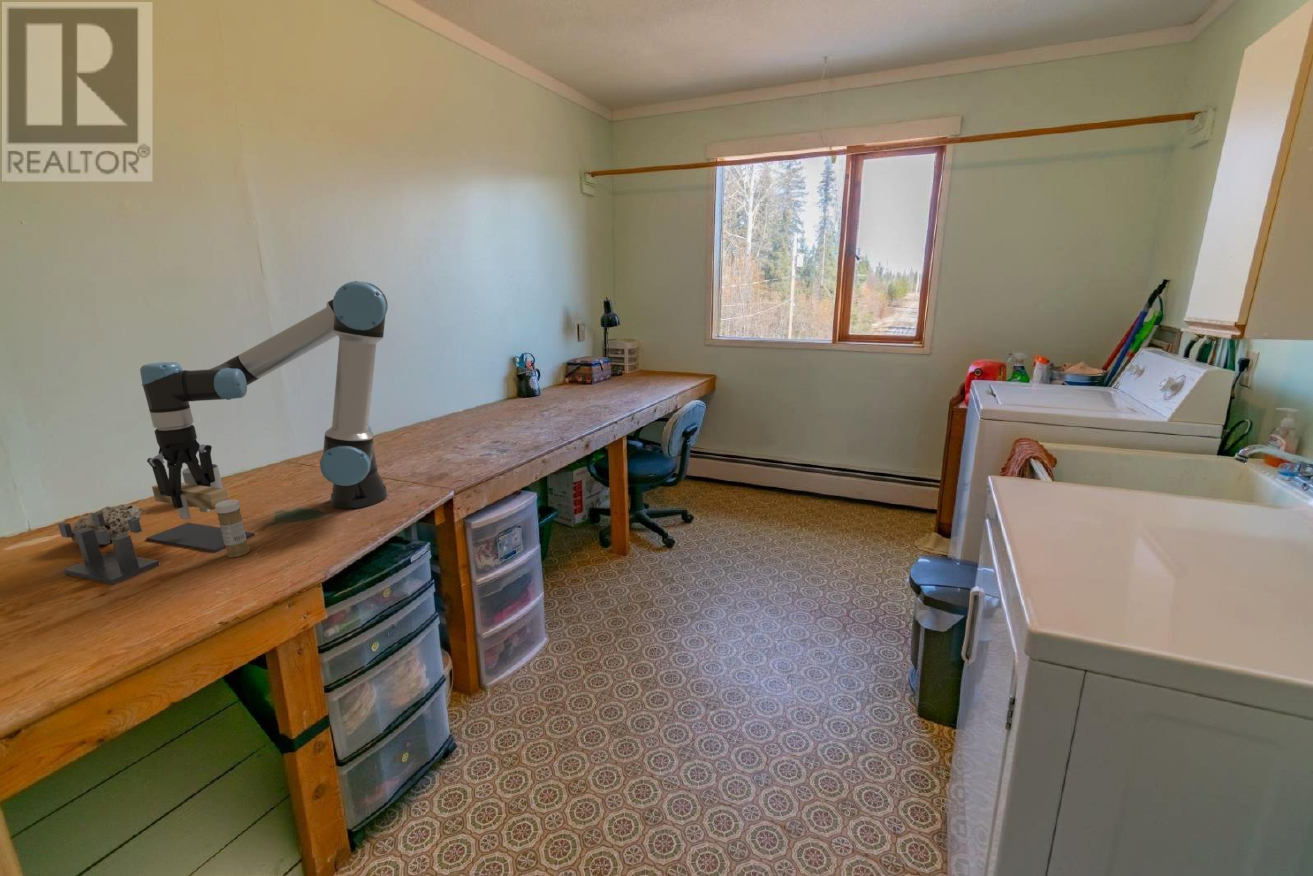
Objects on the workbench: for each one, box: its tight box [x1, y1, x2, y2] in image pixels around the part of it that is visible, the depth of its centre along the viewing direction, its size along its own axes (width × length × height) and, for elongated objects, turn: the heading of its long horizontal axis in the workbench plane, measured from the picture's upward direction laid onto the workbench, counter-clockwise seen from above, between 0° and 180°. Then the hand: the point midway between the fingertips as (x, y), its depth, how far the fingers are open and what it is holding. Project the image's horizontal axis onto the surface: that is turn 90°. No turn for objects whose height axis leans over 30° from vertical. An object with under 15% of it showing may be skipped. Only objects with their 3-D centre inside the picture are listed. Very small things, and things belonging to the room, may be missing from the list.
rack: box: [57, 511, 160, 586], centre depth 125 cm, size 16×9×12 cm, turn 74°
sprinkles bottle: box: [214, 499, 250, 558], centre depth 132 cm, size 5×5×14 cm
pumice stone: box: [69, 504, 143, 545], centre depth 141 cm, size 14×12×8 cm
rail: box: [151, 482, 230, 511], centre depth 140 cm, size 20×4×4 cm, turn 74°
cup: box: [181, 463, 224, 489], centre depth 167 cm, size 8×8×10 cm
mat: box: [145, 522, 256, 553], centre depth 143 cm, size 24×10×1 cm, turn 74°
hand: (195, 514), depth 141 cm, fingers closed on rail, 4 cm apart
